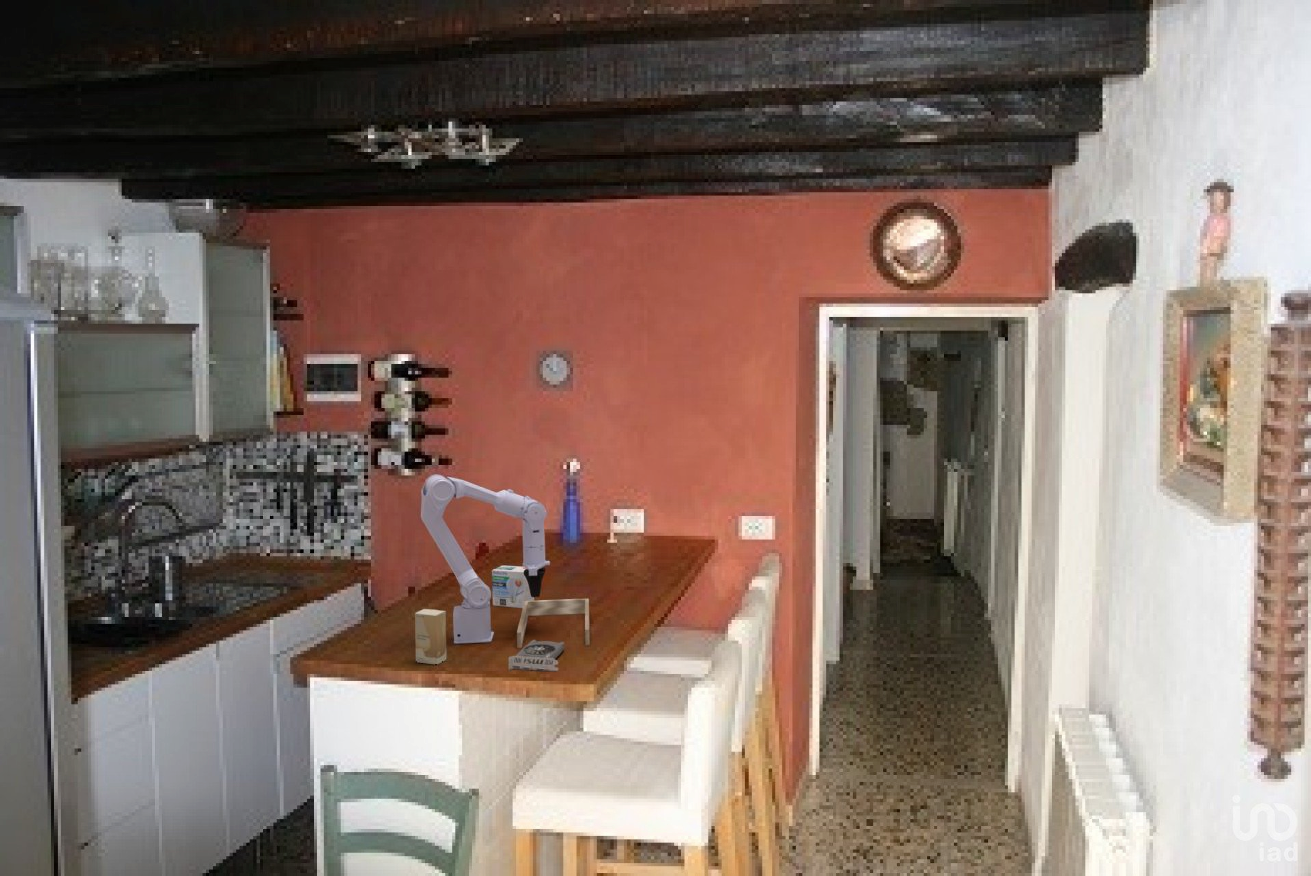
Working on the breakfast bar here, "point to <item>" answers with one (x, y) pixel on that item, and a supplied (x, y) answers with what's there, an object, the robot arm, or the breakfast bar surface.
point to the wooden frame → (553, 613)
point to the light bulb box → (510, 586)
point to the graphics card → (537, 656)
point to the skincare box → (430, 636)
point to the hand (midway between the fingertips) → (535, 596)
